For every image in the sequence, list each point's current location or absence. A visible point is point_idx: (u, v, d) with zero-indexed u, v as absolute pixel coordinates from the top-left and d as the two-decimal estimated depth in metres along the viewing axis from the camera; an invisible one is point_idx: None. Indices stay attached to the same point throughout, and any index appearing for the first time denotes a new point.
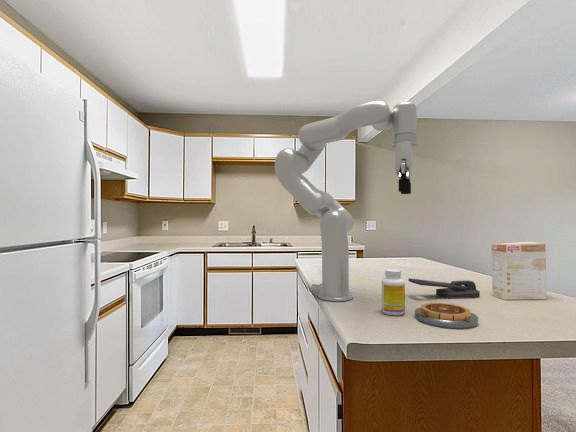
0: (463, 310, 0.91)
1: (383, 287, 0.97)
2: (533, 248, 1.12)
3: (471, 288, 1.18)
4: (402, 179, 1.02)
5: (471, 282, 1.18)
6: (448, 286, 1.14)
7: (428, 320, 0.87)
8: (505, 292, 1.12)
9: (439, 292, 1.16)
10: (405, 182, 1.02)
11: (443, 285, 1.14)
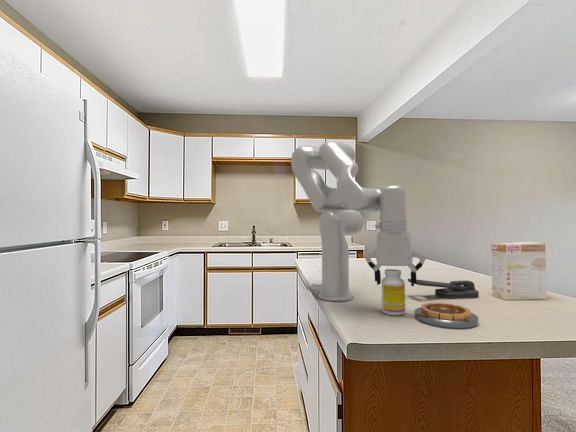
0: (463, 310, 0.91)
1: (383, 287, 0.97)
2: (533, 248, 1.12)
3: (470, 288, 1.18)
4: None
5: (470, 282, 1.18)
6: (447, 286, 1.14)
7: (428, 320, 0.87)
8: (505, 292, 1.11)
9: (438, 292, 1.16)
10: None
11: (442, 285, 1.13)
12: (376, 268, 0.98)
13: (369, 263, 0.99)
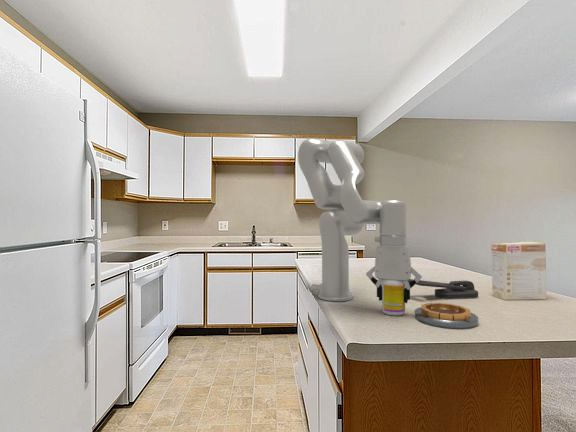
0: (463, 310, 0.91)
1: (383, 287, 0.97)
2: (533, 248, 1.12)
3: (469, 288, 1.18)
4: (409, 289, 0.95)
5: (469, 282, 1.18)
6: (447, 286, 1.14)
7: (428, 320, 0.87)
8: (505, 292, 1.11)
9: (438, 292, 1.16)
10: None
11: (442, 285, 1.13)
12: (378, 284, 0.98)
13: (371, 279, 0.99)
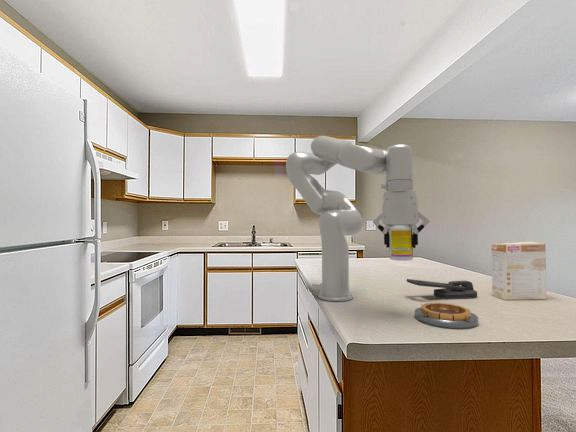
0: (463, 310, 0.91)
1: (390, 233, 0.96)
2: (533, 248, 1.12)
3: (468, 288, 1.18)
4: (417, 234, 0.94)
5: (468, 282, 1.18)
6: (446, 286, 1.13)
7: (428, 320, 0.87)
8: (505, 292, 1.12)
9: (437, 293, 1.15)
10: None
11: (442, 285, 1.13)
12: (386, 231, 0.97)
13: (378, 226, 0.98)
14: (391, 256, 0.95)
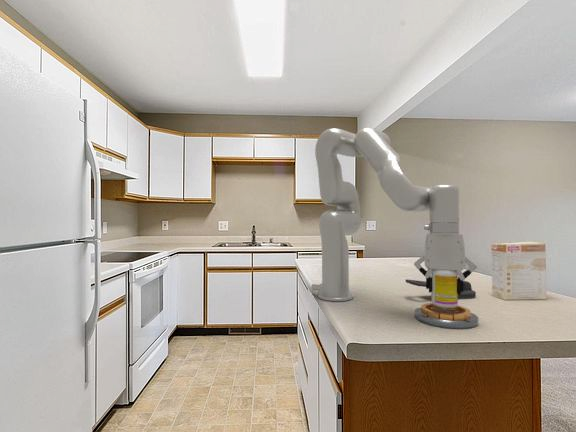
0: (463, 310, 0.91)
1: (434, 278, 0.90)
2: (533, 248, 1.12)
3: (467, 289, 1.17)
4: None
5: (467, 282, 1.18)
6: None
7: (428, 320, 0.87)
8: (505, 292, 1.12)
9: None
10: None
11: None
12: (428, 275, 0.92)
13: (420, 269, 0.93)
14: (434, 302, 0.90)
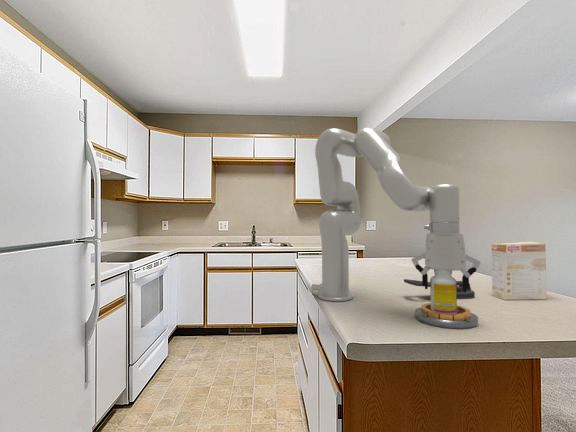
0: (463, 310, 0.91)
1: (433, 286, 0.90)
2: (533, 248, 1.12)
3: (466, 289, 1.17)
4: (468, 277, 0.88)
5: None
6: None
7: (428, 320, 0.87)
8: (505, 292, 1.12)
9: None
10: None
11: None
12: (424, 272, 0.92)
13: (416, 266, 0.93)
14: None
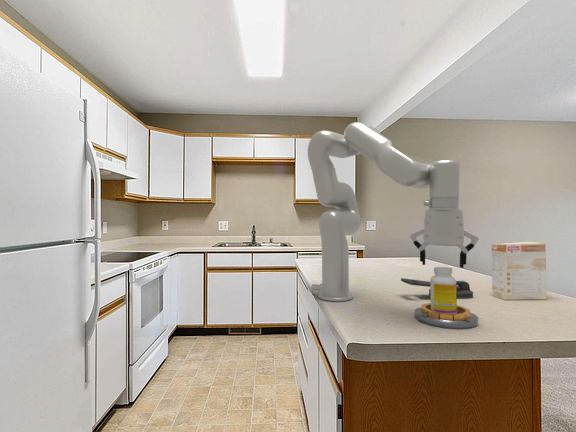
0: (463, 310, 0.91)
1: (433, 286, 0.90)
2: (533, 248, 1.12)
3: (464, 289, 1.18)
4: None
5: (465, 282, 1.18)
6: None
7: (428, 320, 0.87)
8: (505, 292, 1.11)
9: None
10: None
11: None
12: (422, 247, 0.92)
13: (414, 242, 0.94)
14: None
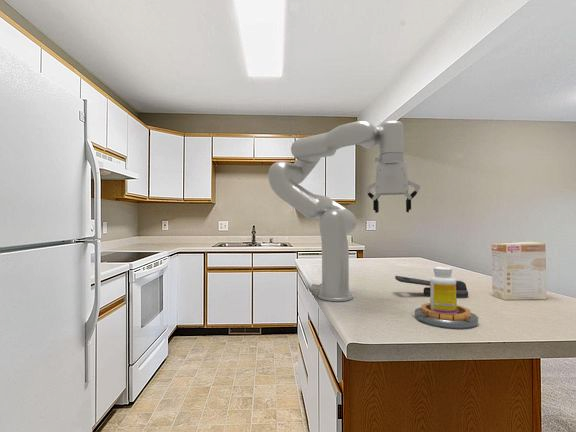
0: (463, 310, 0.91)
1: (433, 286, 0.90)
2: (533, 248, 1.12)
3: (461, 288, 1.18)
4: None
5: (461, 282, 1.18)
6: None
7: (428, 320, 0.87)
8: (505, 292, 1.11)
9: (425, 290, 1.19)
10: None
11: (426, 283, 1.17)
12: (375, 197, 1.07)
13: (368, 193, 1.08)
14: None
